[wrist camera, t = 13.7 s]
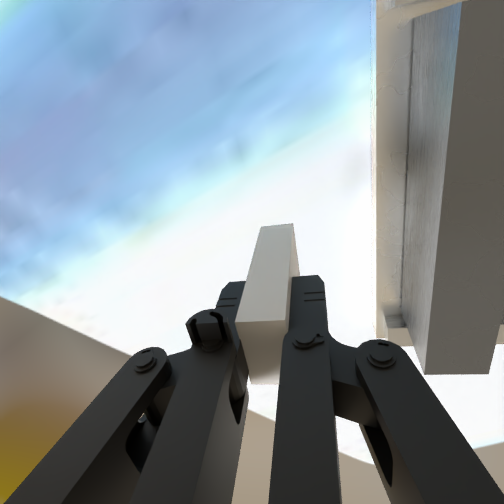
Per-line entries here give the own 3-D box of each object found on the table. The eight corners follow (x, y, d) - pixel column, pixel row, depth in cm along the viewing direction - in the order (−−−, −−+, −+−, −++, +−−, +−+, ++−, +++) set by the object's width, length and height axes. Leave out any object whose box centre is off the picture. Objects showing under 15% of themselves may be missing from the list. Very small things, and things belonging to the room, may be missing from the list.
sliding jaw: (414, 17, 14) (462, 1, 10) (495, -1, 13) (584, -26, 9) (400, 311, 22) (424, 374, 17) (451, 309, 21) (488, 374, 17)
